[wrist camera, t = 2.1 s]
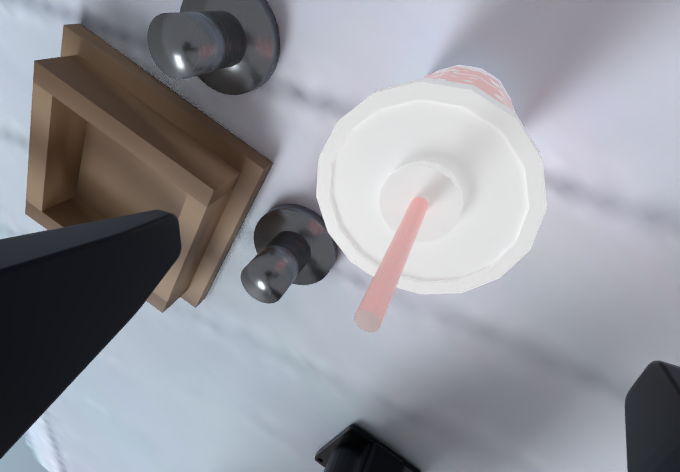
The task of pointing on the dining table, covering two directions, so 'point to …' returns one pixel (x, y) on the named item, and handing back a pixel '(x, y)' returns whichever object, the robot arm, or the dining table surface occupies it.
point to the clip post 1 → (217, 43)
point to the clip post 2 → (288, 252)
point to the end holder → (135, 159)
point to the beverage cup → (431, 187)
